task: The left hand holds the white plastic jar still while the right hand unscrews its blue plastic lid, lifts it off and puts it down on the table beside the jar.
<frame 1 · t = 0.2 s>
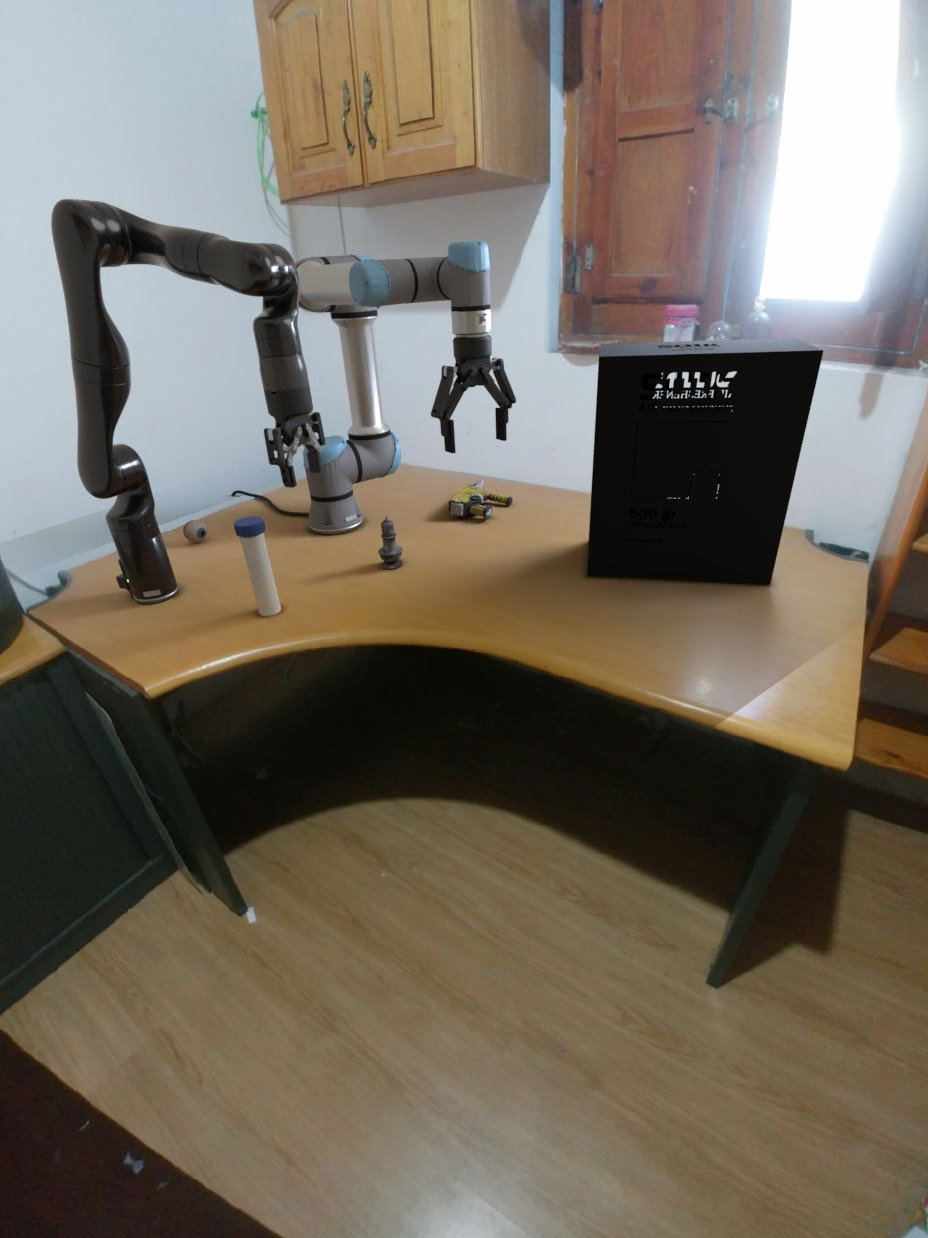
left hand: (303, 479, 108), 29 cm above the table, tool pointing down, fingers open, 8 cm apart
right hand: (476, 445, 127), 28 cm above the table, tool pointing down, fingers open, 13 cm apart
toy gun: (485, 507, 176), on the table
eyeball: (198, 542, 164), on the table
lid: (248, 522, 118), point 20 cm above the table, screwed on, not yet turned
jar: (270, 610, 127), on the table
grey tall stepped piece: (392, 564, 145), on the table
cardboard box: (671, 561, 138), on the table
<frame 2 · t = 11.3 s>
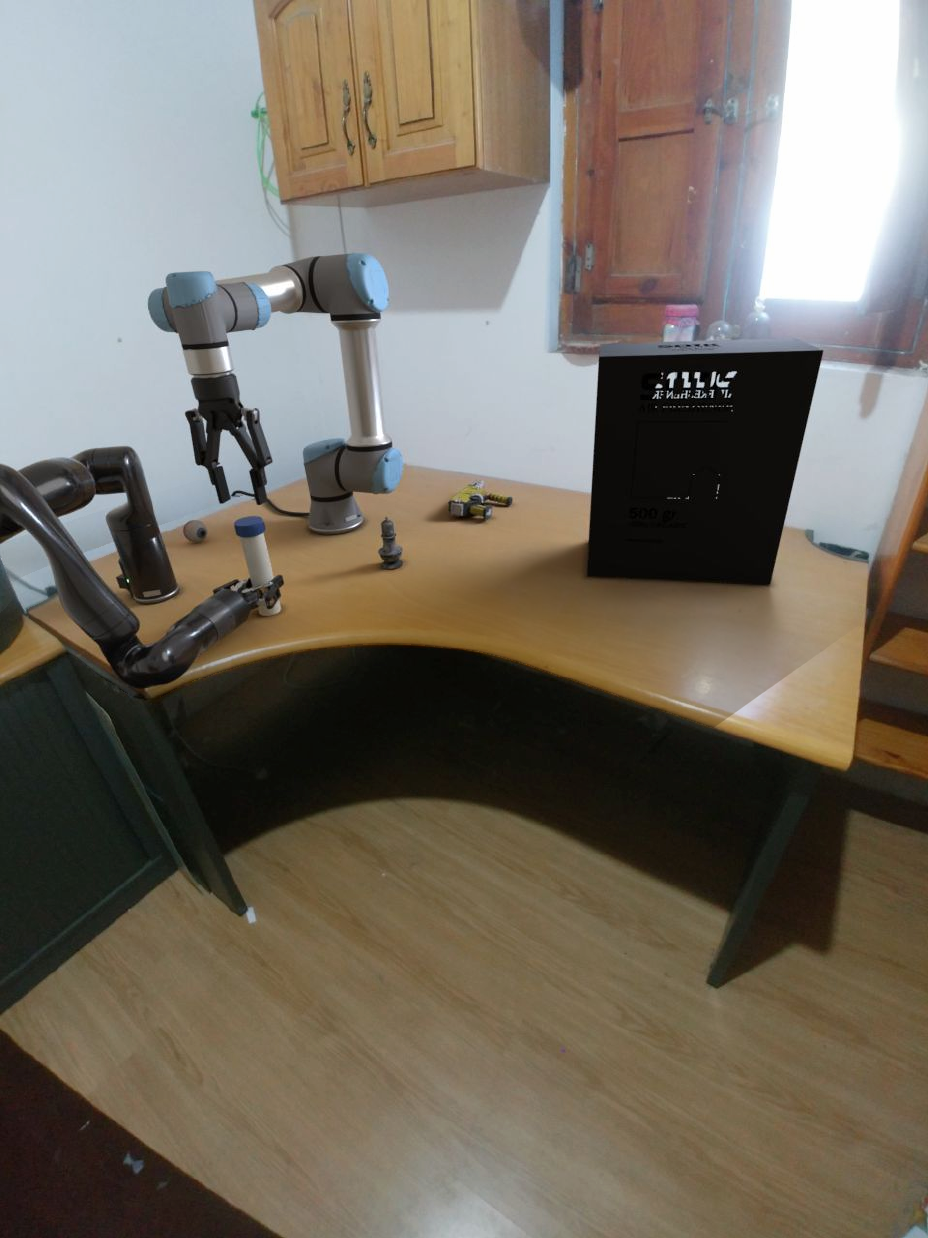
left hand: (271, 577, 126), 7 cm above the table, tool horizontal, fingers closed on jar, 4 cm apart
right hand: (243, 501, 115), 24 cm above the table, tool pointing down, fingers open, 7 cm apart
jar: (270, 610, 127), on the table, touching left hand
everything else where it was.
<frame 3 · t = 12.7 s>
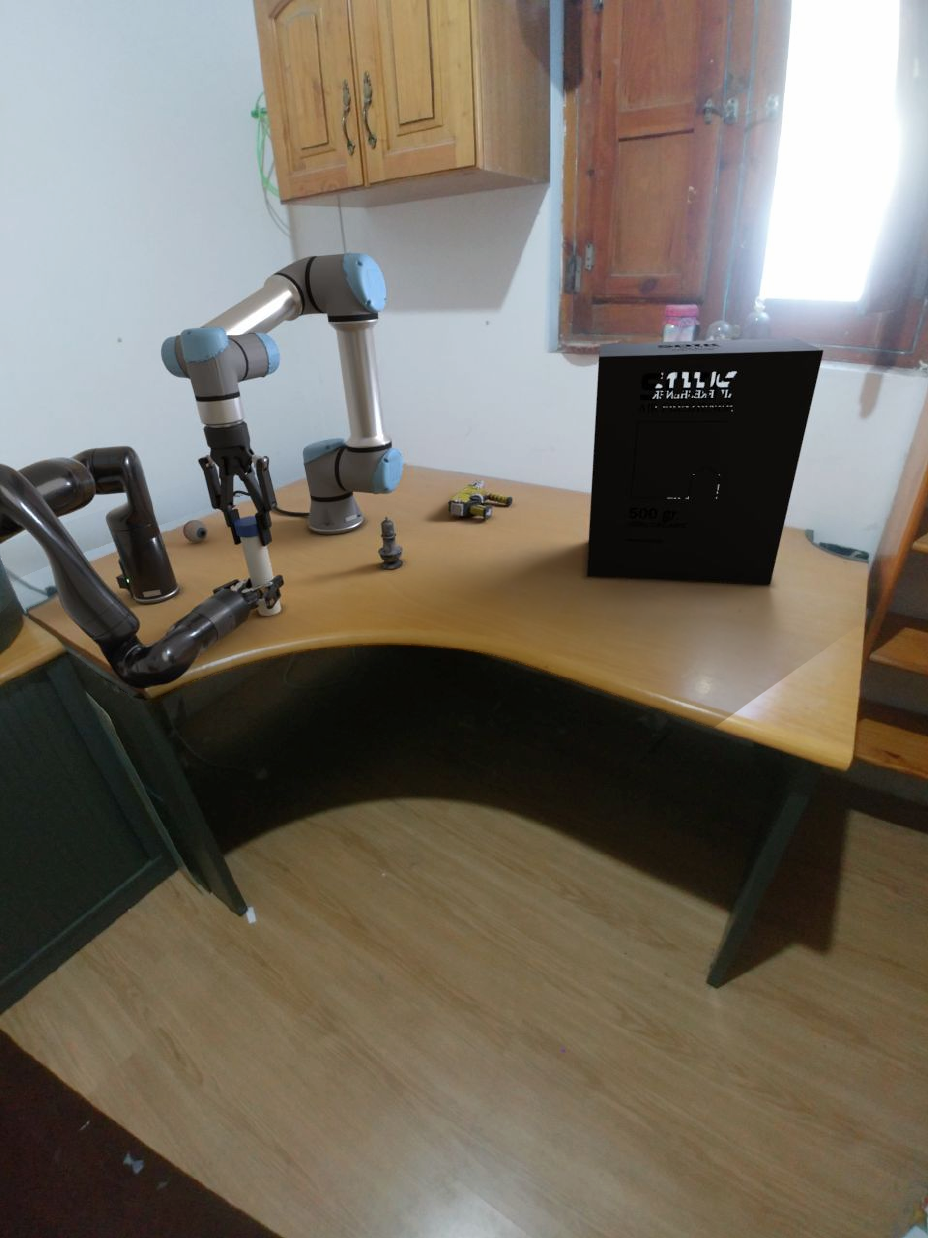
left hand: (271, 577, 126), 7 cm above the table, tool horizontal, fingers closed on jar, 4 cm apart
right hand: (253, 542, 120), 16 cm above the table, tool pointing down, fingers closed on lid, 5 cm apart
lid: (248, 522, 118), point 20 cm above the table, screwed on, not yet turned, touching right hand
jar: (270, 610, 127), on the table, touching left hand
everything else where it was.
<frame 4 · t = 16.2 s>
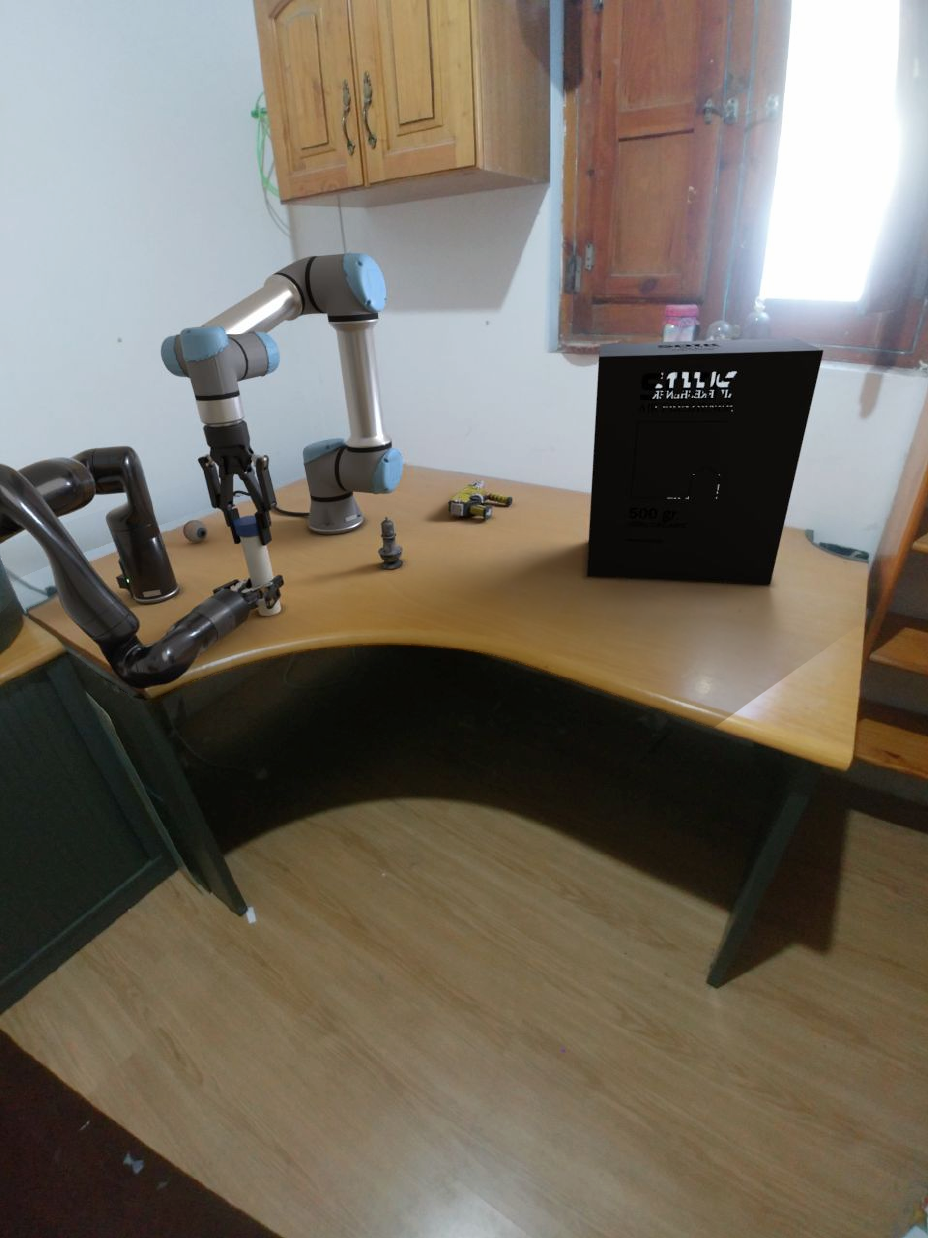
left hand: (270, 577, 126), 6 cm above the table, tool horizontal, fingers closed on jar, 4 cm apart
right hand: (253, 541, 120), 16 cm above the table, tool pointing down, fingers closed on lid, 5 cm apart
lid: (248, 521, 117), point 20 cm above the table, turned 127° so far, risen 0.2 cm, still on its thread, touching right hand
jar: (270, 610, 127), on the table, touching left hand
everything else where it was.
when the right hand's fingers open (0 cm above the table, at t = 29.8 s): lid drops 2 cm, point 2 cm above the table.
when the left hand's fingers open (7 cm above the table, at t = 30.4 s): jar stays where it is, on the table.
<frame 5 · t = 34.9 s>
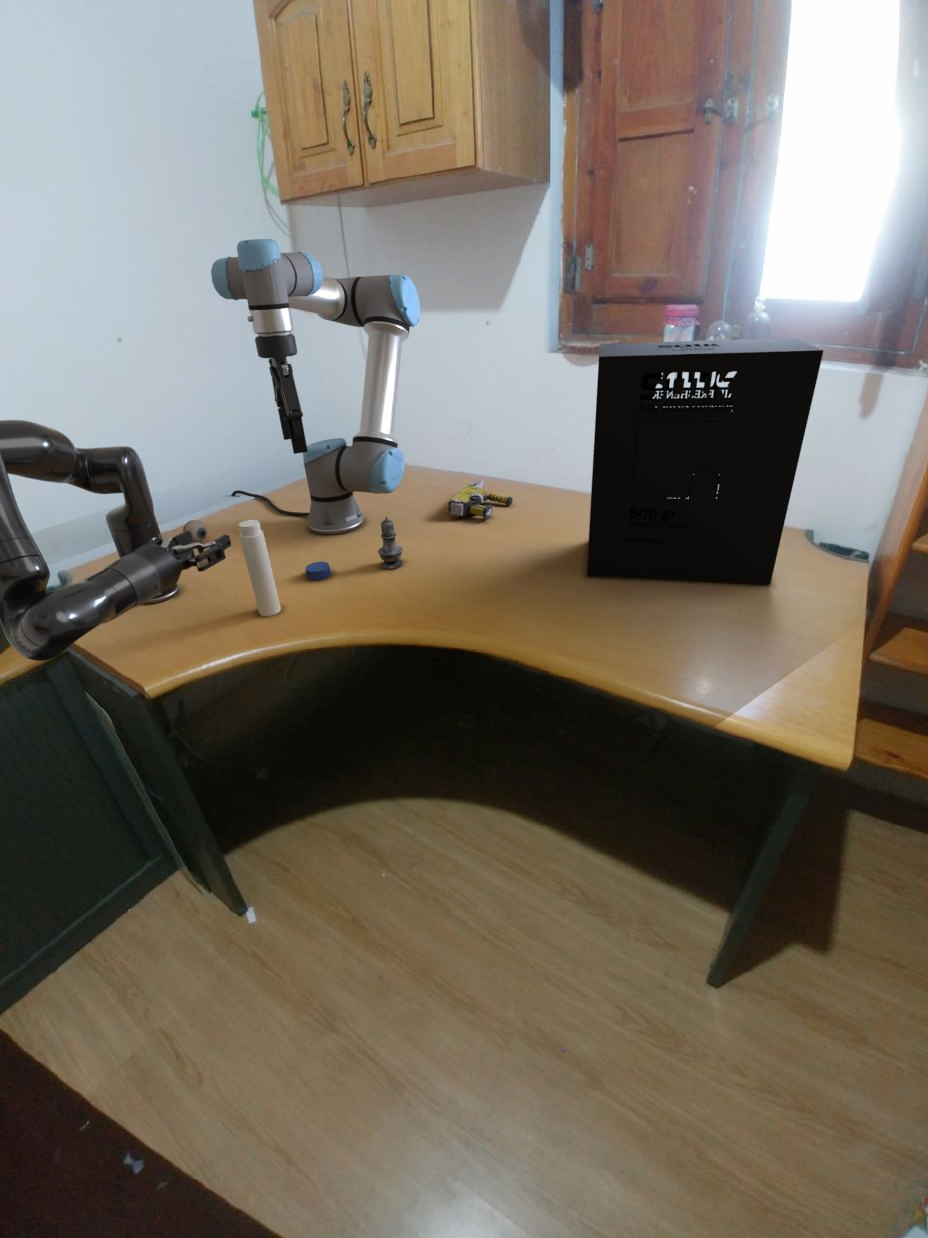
left hand: (209, 537, 108), 21 cm above the table, tool horizontal, fingers open, 8 cm apart
right hand: (295, 445, 126), 30 cm above the table, tool pointing down, fingers open, 13 cm apart
lid: (317, 567, 140), point 2 cm above the table, off its thread
jar: (270, 611, 127), on the table
everything else where it was.
at the end: lid came off its thread; lid point 2.0 cm above the table; the left hand is holding nothing; the right hand is holding nothing; jar tilted 0°; jar moved 0.0 cm from its start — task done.
